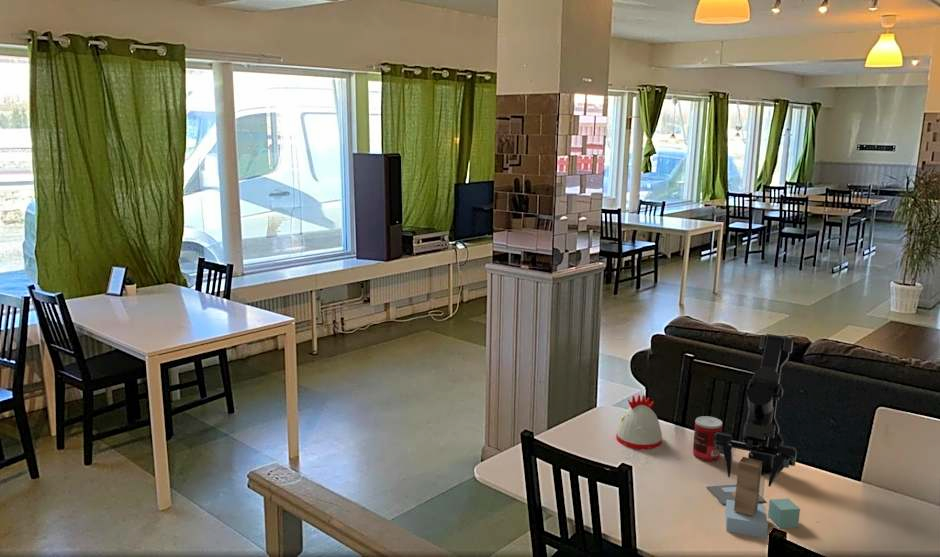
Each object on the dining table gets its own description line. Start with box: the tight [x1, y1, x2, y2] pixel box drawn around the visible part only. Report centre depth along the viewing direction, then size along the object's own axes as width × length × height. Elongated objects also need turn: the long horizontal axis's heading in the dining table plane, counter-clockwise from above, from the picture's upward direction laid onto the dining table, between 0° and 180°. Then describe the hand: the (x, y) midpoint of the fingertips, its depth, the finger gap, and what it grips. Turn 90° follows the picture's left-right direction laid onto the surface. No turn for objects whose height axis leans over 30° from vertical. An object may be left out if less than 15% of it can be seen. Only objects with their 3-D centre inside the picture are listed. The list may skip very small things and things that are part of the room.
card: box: [706, 484, 767, 506], centre depth 187 cm, size 12×9×1 cm
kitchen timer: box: [615, 393, 663, 451], centre depth 219 cm, size 14×14×15 cm
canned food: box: [692, 415, 724, 462], centre depth 209 cm, size 8×8×11 cm
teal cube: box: [767, 497, 801, 529], centre depth 174 cm, size 5×5×5 cm
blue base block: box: [724, 500, 768, 539], centre depth 172 cm, size 9×9×4 cm
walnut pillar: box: [734, 456, 762, 516], centre depth 171 cm, size 4×4×12 cm
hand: (748, 481), depth 169 cm, fingers open, 9 cm apart
